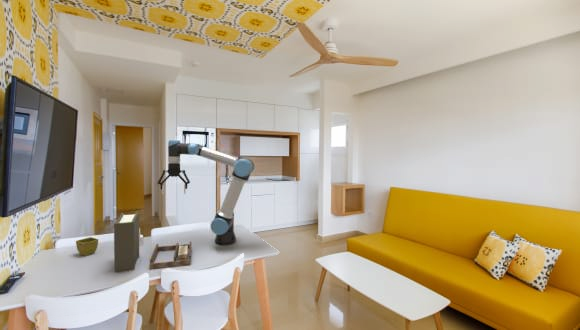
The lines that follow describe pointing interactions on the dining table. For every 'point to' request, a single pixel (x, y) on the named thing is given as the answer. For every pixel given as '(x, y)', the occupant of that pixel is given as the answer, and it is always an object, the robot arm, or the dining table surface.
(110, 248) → the dining table surface
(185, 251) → the offcut top
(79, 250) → the flower pot
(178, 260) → the block
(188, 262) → the rack
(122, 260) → the book
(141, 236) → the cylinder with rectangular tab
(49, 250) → the dining table surface
